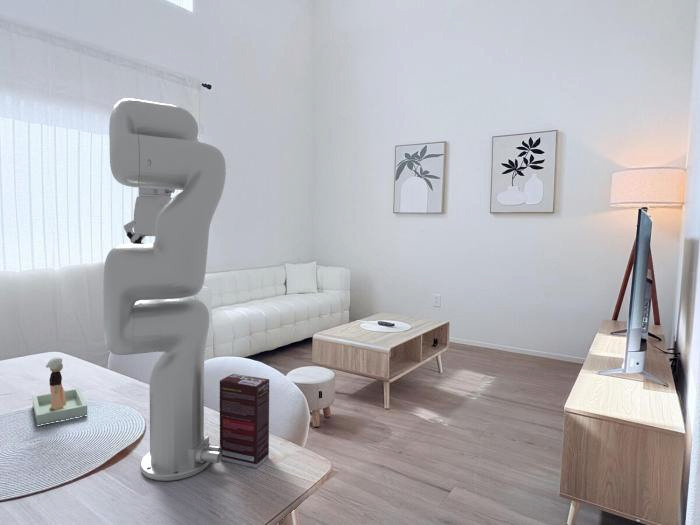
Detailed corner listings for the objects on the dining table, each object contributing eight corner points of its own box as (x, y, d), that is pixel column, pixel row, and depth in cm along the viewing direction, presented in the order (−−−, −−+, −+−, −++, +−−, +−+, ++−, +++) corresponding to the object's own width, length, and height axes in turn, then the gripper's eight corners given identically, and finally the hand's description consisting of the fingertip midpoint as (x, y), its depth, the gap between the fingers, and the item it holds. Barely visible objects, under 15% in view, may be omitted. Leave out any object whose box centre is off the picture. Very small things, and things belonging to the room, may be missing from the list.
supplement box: (269, 457, 86) (271, 378, 85) (256, 469, 81) (257, 386, 80) (232, 448, 89) (233, 372, 88) (218, 460, 84) (218, 380, 83)
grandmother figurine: (72, 411, 103) (71, 358, 102) (53, 416, 100) (52, 362, 99) (60, 402, 108) (58, 352, 107) (41, 407, 104) (40, 355, 104)
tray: (87, 416, 102) (87, 405, 102) (37, 427, 96) (36, 415, 96) (78, 397, 112) (78, 388, 112) (32, 406, 106) (32, 396, 106)
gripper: (193, 193, 113) (193, 259, 114) (134, 192, 116) (135, 256, 117) (177, 190, 105) (177, 261, 107) (114, 190, 109) (115, 258, 110)
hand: (155, 258), depth 112 cm, fingers open, 9 cm apart
